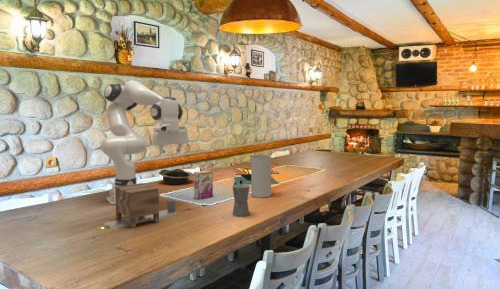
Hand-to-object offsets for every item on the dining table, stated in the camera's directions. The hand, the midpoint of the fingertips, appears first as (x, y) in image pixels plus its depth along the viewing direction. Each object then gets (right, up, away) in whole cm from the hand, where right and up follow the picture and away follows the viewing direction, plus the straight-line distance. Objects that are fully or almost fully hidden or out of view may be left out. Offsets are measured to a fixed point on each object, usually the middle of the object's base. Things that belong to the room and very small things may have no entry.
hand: (171, 152), depth 205 cm
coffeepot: (+38, -32, -6) cm, 50 cm away
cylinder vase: (+50, -28, +34) cm, 67 cm away
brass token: (-26, -35, -30) cm, 53 cm away
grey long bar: (-10, -33, -17) cm, 39 cm away
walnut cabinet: (-13, -33, -19) cm, 40 cm away
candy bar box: (+14, -29, +29) cm, 43 cm away
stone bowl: (-11, -24, +76) cm, 80 cm away
